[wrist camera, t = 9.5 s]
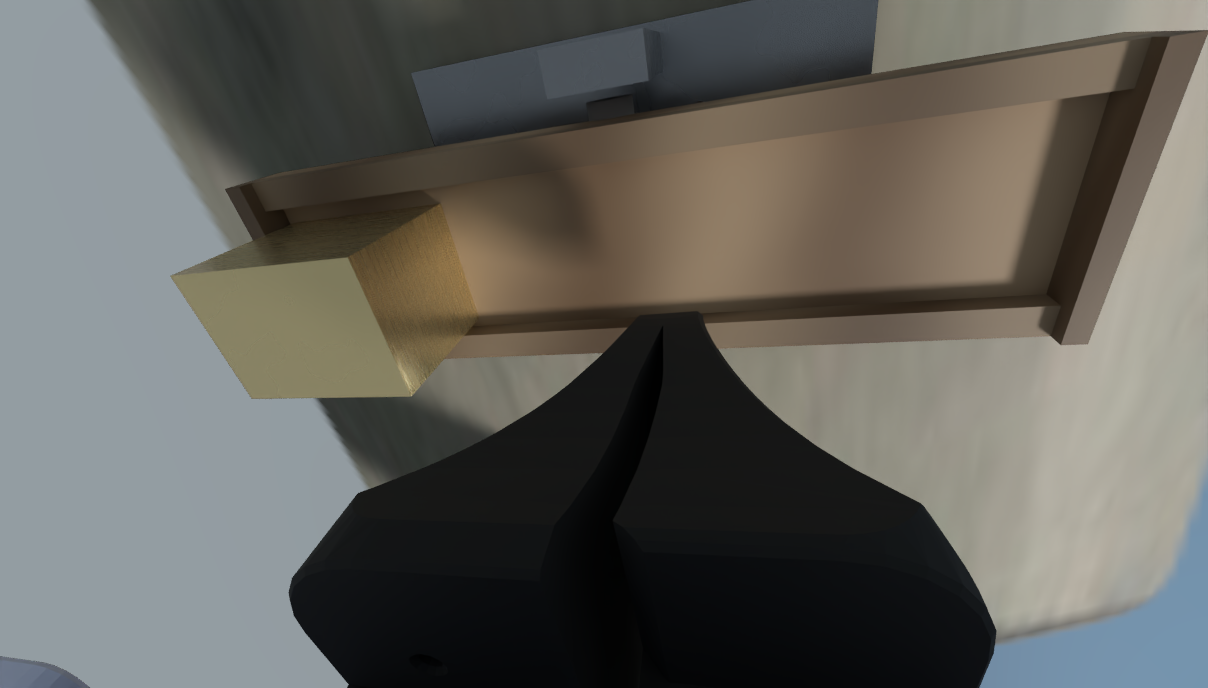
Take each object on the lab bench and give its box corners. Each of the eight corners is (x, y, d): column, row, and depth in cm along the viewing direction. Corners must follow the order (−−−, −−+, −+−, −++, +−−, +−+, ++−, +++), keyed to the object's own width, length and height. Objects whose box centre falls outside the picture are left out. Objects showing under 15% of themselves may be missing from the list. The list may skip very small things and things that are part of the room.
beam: (1097, 10, 10) (1220, 0, 8) (1015, 300, 14) (1082, 359, 11) (297, 153, 16) (216, 174, 13) (380, 334, 19) (329, 378, 16)
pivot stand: (843, 302, 18) (889, 387, 14) (502, 325, 22) (448, 400, 17) (871, -24, 13) (957, -59, 9) (422, 71, 17) (316, 81, 12)
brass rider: (479, 318, 15) (411, 396, 12) (346, 326, 16) (251, 398, 13) (440, 203, 13) (348, 257, 10) (295, 222, 15) (170, 275, 11)
